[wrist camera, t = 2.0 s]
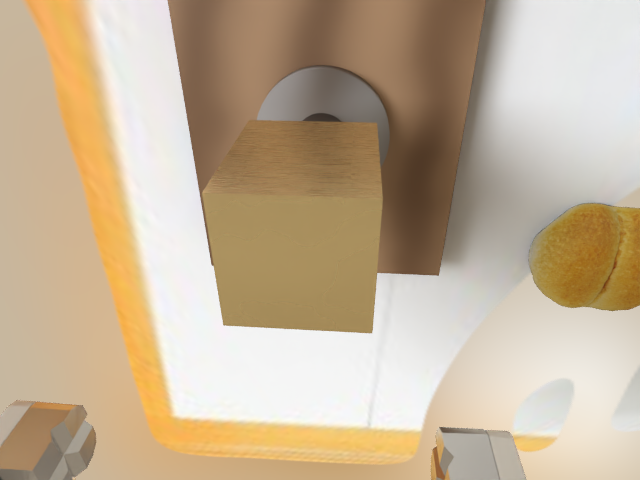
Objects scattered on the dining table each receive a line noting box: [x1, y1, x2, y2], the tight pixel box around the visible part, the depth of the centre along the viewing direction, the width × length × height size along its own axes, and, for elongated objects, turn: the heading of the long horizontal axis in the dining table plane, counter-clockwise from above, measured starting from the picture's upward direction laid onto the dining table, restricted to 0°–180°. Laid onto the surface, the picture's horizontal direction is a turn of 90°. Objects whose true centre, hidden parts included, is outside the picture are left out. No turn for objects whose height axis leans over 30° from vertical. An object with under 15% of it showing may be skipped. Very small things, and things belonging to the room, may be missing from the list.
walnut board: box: [168, 0, 486, 275], centre depth 25 cm, size 16×20×10 cm
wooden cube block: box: [202, 120, 383, 333], centre depth 18 cm, size 6×6×7 cm
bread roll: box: [528, 203, 640, 311], centre depth 31 cm, size 8×9×4 cm
